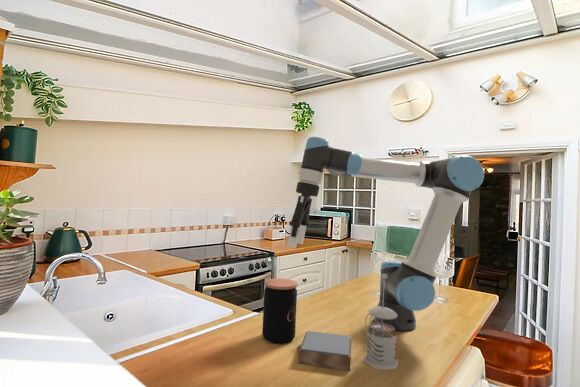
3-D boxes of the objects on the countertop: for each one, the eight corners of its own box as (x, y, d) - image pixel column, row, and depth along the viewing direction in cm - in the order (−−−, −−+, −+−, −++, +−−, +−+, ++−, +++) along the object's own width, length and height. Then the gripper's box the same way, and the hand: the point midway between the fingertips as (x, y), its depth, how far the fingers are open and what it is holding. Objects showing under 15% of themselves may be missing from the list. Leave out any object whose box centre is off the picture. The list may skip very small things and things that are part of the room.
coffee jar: (291, 347, 103) (294, 288, 103) (257, 342, 105) (260, 284, 105) (297, 333, 113) (300, 280, 114) (267, 329, 116) (269, 277, 116)
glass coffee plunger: (377, 372, 90) (381, 278, 91) (352, 353, 101) (356, 269, 101) (406, 366, 94) (409, 276, 94) (379, 348, 105) (382, 268, 105)
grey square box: (350, 348, 104) (351, 335, 104) (350, 371, 90) (350, 355, 90) (305, 342, 107) (306, 330, 107) (298, 363, 93) (299, 349, 93)
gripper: (303, 184, 127) (291, 239, 126) (291, 177, 102) (276, 245, 102) (323, 188, 125) (311, 244, 125) (315, 182, 101) (299, 251, 100)
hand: (295, 245), depth 113 cm, fingers open, 13 cm apart
